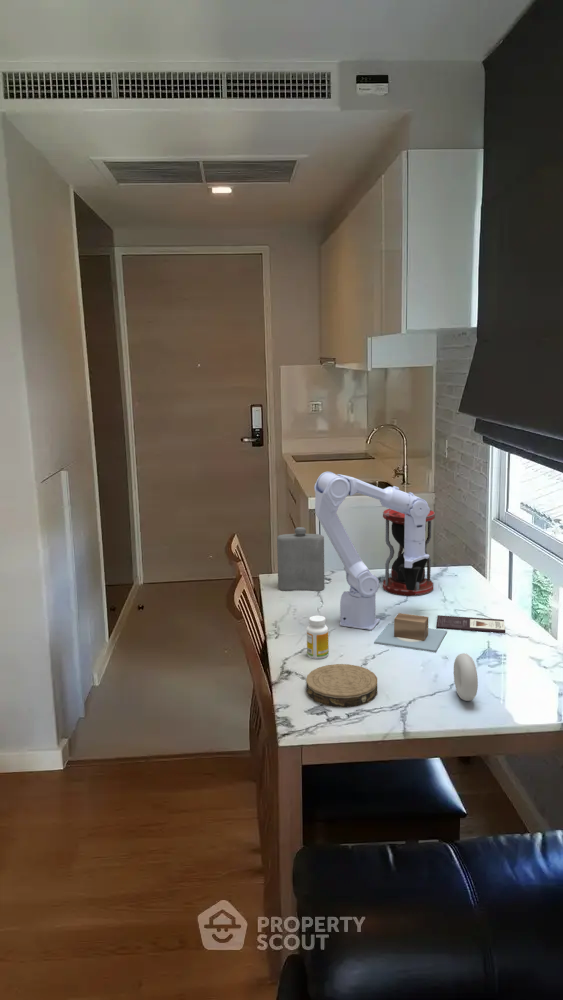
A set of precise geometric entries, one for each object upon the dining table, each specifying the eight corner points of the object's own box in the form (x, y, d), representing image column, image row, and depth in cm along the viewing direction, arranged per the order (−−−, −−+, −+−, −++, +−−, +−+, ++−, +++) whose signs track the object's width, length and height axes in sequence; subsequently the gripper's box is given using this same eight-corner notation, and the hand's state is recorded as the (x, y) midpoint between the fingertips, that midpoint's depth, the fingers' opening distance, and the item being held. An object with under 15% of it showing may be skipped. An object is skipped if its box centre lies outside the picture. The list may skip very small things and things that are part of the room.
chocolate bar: (437, 615, 202) (503, 619, 197) (437, 618, 202) (503, 622, 197) (436, 626, 193) (505, 631, 189) (436, 629, 193) (505, 634, 189)
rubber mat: (374, 643, 184) (374, 641, 184) (388, 624, 197) (388, 622, 197) (435, 652, 178) (435, 650, 178) (446, 632, 190) (447, 630, 190)
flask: (324, 585, 232) (323, 525, 228) (324, 591, 226) (323, 530, 222) (279, 585, 233) (277, 526, 229) (277, 591, 227) (276, 530, 223)
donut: (451, 688, 158) (452, 646, 157) (466, 687, 158) (467, 645, 157) (462, 709, 149) (464, 665, 147) (479, 709, 149) (480, 664, 147)
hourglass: (375, 582, 233) (375, 508, 228) (420, 578, 237) (421, 505, 232) (394, 598, 218) (394, 519, 213) (442, 593, 222) (444, 515, 217)
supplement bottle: (331, 651, 180) (330, 615, 178) (325, 660, 175) (324, 623, 173) (310, 649, 181) (310, 613, 179) (304, 657, 176) (303, 620, 174)
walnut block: (424, 640, 183) (424, 622, 182) (394, 636, 187) (394, 618, 186) (428, 634, 187) (428, 616, 186) (398, 630, 191) (398, 613, 190)
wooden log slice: (292, 689, 160) (291, 677, 160) (343, 669, 170) (343, 658, 169) (339, 716, 148) (339, 703, 147) (392, 693, 157) (392, 680, 157)
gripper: (423, 546, 189) (422, 595, 192) (434, 534, 202) (433, 579, 205) (397, 544, 192) (396, 592, 195) (410, 532, 205) (409, 577, 208)
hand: (414, 585), depth 200 cm, fingers open, 7 cm apart
